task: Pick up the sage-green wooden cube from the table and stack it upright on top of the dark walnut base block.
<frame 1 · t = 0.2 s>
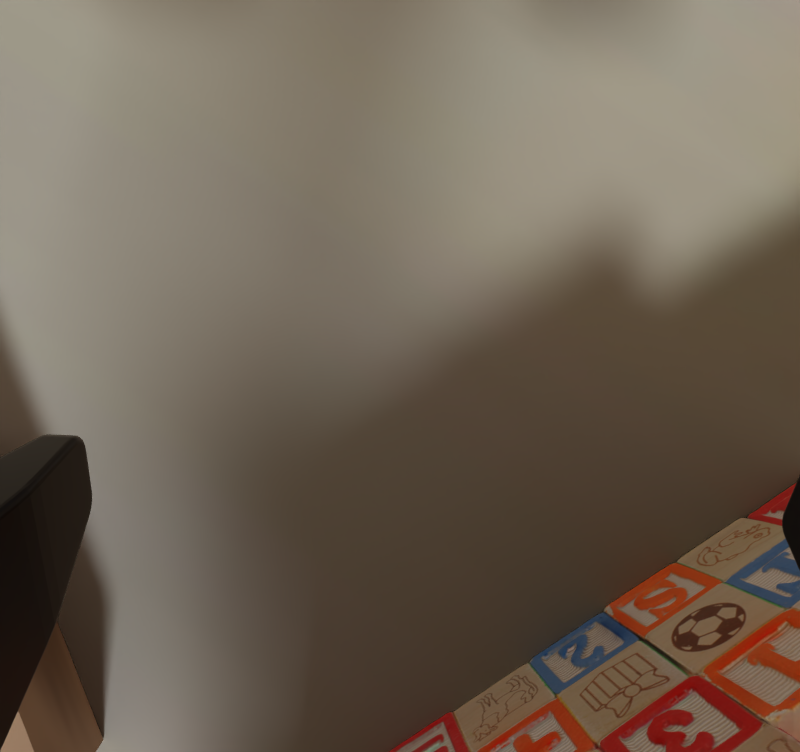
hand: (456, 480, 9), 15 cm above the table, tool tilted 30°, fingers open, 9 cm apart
stack of blocks: (605, 707, 24), on the table
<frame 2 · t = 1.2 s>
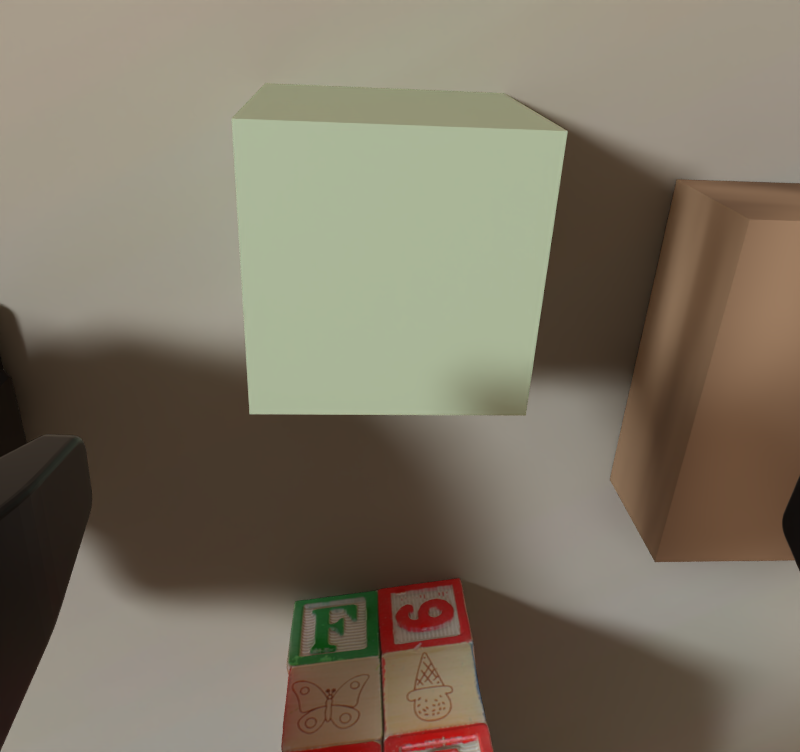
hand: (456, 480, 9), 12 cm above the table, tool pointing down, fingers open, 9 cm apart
green cube: (381, 206, 19), on the table
walnut base: (795, 347, 22), on the table
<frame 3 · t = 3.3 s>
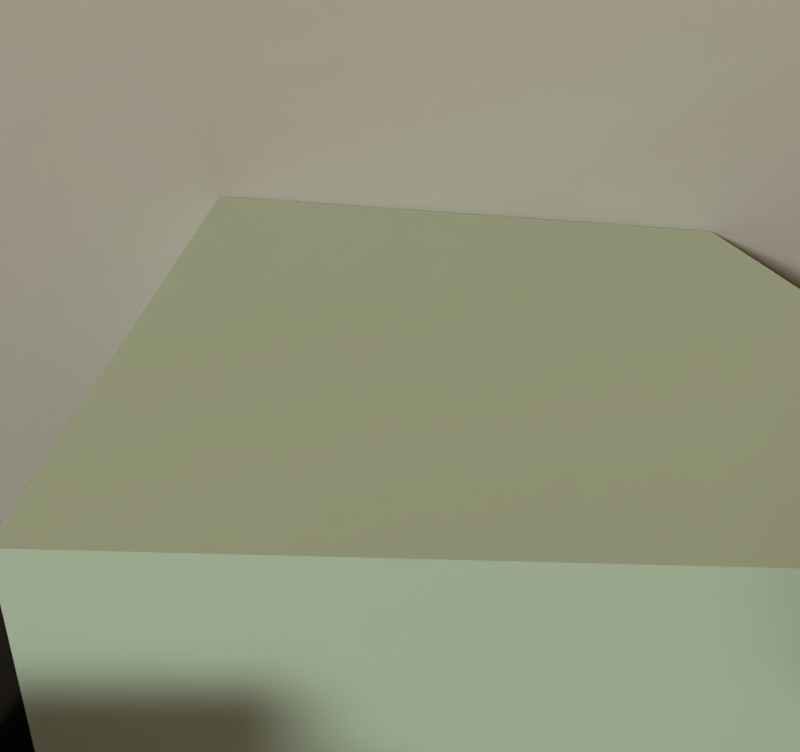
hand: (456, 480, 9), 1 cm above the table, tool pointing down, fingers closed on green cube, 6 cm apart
green cube: (444, 426, 10), on the table, touching gripper
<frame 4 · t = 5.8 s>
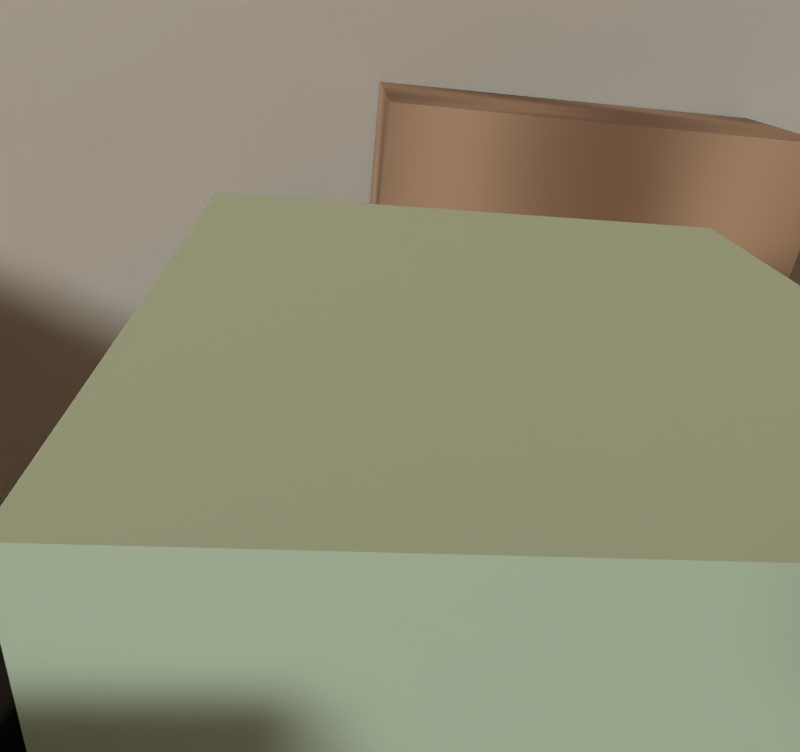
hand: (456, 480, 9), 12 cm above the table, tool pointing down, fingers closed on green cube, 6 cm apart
green cube: (442, 424, 10), point 11 cm above the table, touching gripper
walnut base: (533, 280, 21), on the table
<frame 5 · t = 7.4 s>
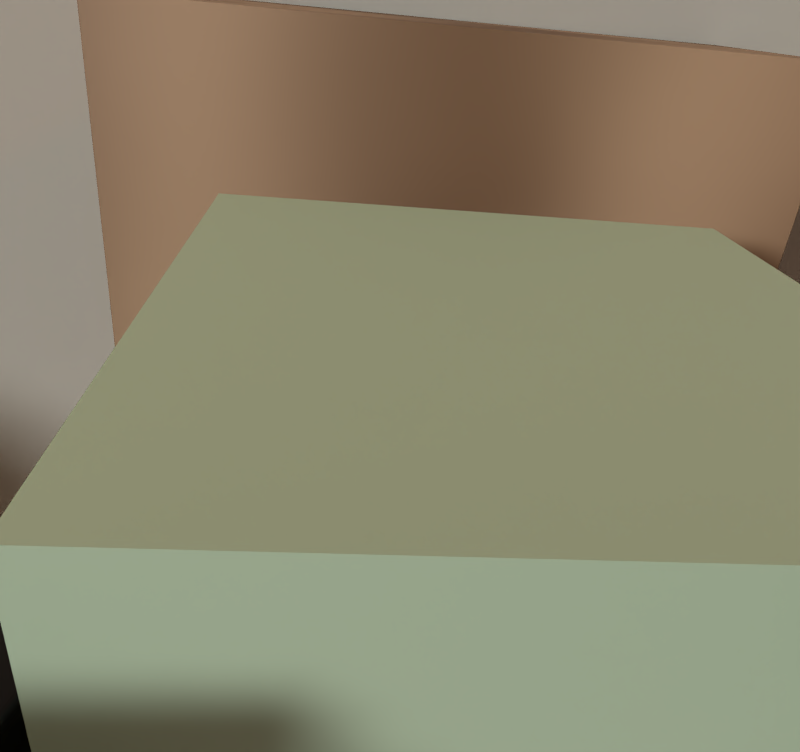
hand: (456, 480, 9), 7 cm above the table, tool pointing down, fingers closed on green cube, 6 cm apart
green cube: (445, 425, 10), point 6 cm above the table, touching gripper
walnut base: (418, 285, 15), on the table
when the fingers open (6 cm above the table, at t = 8.4 s): green cube drops 1 cm, resting on walnut base.
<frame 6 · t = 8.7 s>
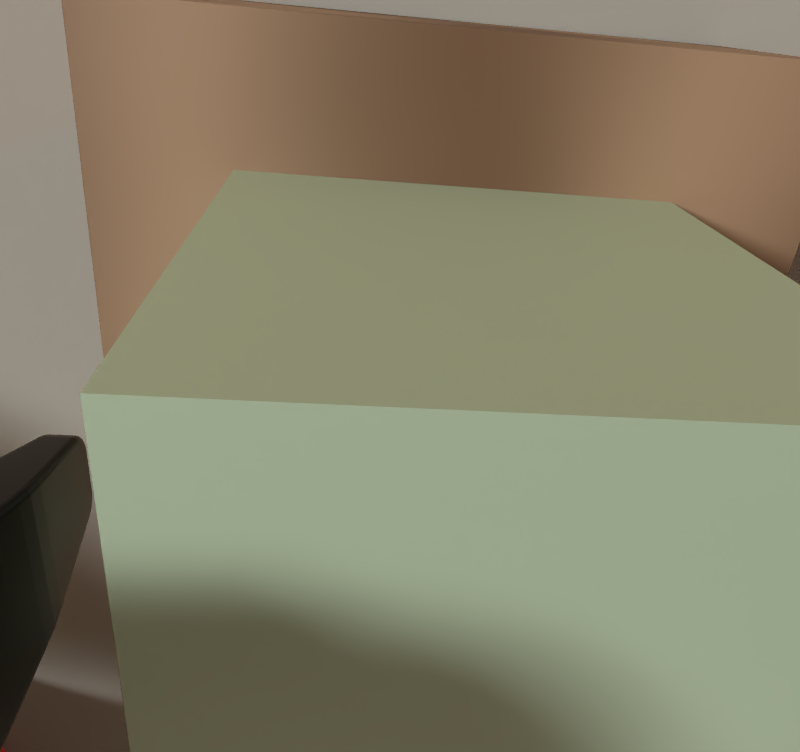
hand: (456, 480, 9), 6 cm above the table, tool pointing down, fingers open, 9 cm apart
green cube: (434, 381, 11), point 4 cm above the table, touching walnut base
walnut base: (417, 291, 15), on the table
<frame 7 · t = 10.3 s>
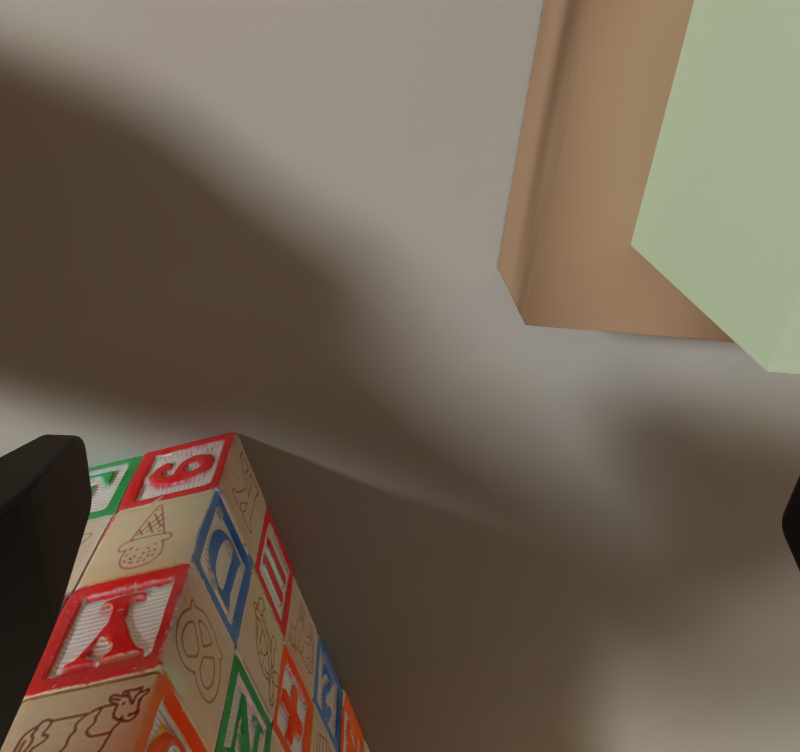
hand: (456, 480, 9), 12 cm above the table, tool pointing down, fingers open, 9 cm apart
stack of blocks: (256, 669, 27), on the table
walnut base: (725, 95, 18), on the table
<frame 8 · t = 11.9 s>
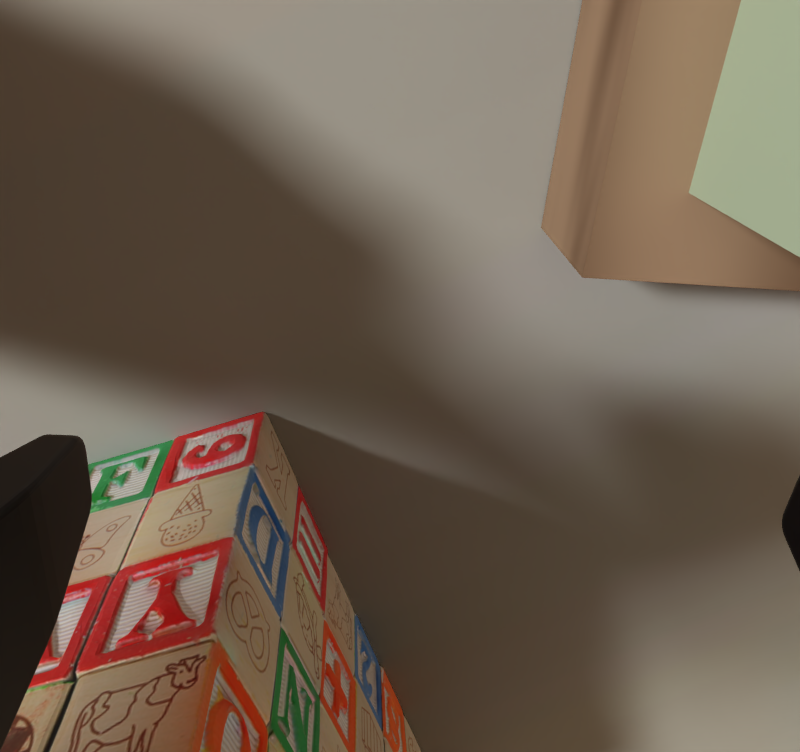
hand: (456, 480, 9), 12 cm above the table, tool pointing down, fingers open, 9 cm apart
stack of blocks: (294, 650, 28), on the table
walnut base: (769, 46, 18), on the table
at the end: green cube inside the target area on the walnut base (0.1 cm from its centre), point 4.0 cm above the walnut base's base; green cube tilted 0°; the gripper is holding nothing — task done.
